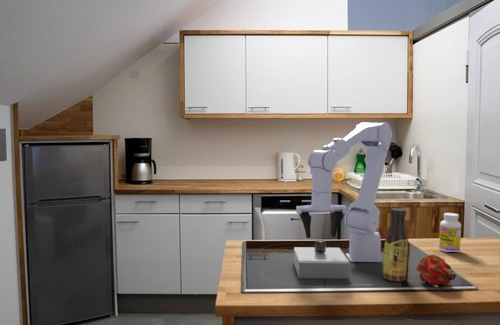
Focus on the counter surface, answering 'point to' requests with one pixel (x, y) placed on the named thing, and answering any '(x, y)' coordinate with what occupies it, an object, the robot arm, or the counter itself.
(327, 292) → the counter surface
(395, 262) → the sauce bottle
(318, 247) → the plunger
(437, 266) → the dragon fruit
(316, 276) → the slotted white block
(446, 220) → the supplement bottle
